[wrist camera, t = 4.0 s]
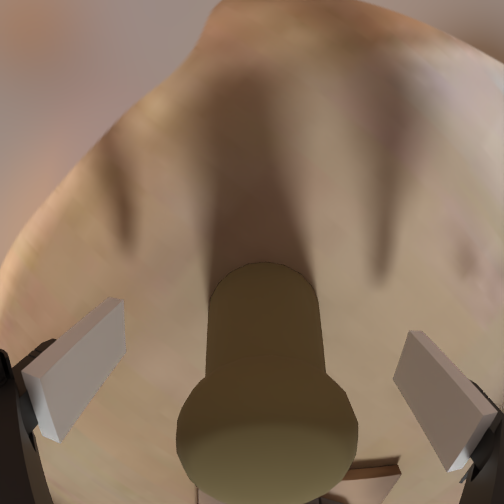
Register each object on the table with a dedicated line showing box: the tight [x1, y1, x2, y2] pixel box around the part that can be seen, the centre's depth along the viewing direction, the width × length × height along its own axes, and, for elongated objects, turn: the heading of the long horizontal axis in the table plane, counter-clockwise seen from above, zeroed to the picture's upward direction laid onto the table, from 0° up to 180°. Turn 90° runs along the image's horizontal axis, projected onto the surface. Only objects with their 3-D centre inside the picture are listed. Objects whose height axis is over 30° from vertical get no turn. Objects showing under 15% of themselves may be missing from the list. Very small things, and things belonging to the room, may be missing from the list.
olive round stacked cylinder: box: [176, 262, 358, 504], centre depth 12 cm, size 6×6×11 cm
